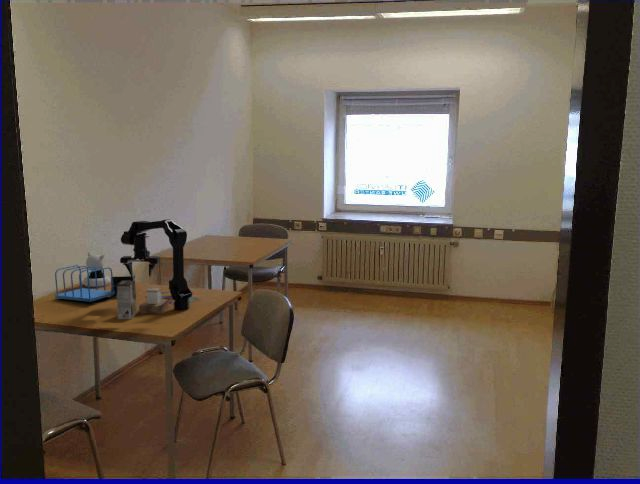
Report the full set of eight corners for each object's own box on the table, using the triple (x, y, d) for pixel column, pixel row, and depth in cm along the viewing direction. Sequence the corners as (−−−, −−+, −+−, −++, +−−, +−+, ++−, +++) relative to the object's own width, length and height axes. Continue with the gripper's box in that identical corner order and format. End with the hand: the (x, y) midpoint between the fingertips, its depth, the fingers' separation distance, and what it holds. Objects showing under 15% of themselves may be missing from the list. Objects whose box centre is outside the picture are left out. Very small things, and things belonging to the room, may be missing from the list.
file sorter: (54, 298, 290) (52, 269, 288) (81, 291, 306) (79, 264, 304) (90, 302, 280) (87, 271, 278) (116, 294, 295) (114, 266, 293)
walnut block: (168, 306, 277) (168, 299, 276) (160, 313, 264) (160, 306, 263) (148, 305, 277) (148, 299, 276) (139, 313, 264) (139, 305, 264)
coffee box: (122, 314, 262) (121, 280, 260) (137, 313, 263) (135, 280, 261) (117, 319, 253) (115, 284, 251) (131, 319, 254) (130, 284, 252)
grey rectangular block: (110, 296, 293) (110, 276, 294) (111, 296, 296) (111, 276, 297) (132, 296, 295) (132, 276, 296) (133, 296, 299) (133, 276, 300)
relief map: (200, 300, 291) (200, 296, 291) (177, 306, 279) (177, 302, 279) (169, 293, 306) (169, 289, 306) (145, 298, 294) (145, 295, 294)
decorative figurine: (115, 283, 327) (114, 249, 324) (102, 288, 313) (101, 253, 310) (91, 282, 329) (90, 248, 326) (77, 287, 315) (75, 252, 312)
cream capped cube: (161, 301, 272) (160, 287, 272) (157, 304, 267) (157, 290, 266) (150, 301, 273) (149, 287, 272) (146, 303, 267) (146, 290, 266)
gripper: (163, 243, 289) (164, 273, 291) (127, 243, 289) (128, 273, 291) (156, 247, 278) (157, 278, 280) (119, 246, 278) (120, 277, 280)
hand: (141, 276), depth 283 cm, fingers open, 9 cm apart
